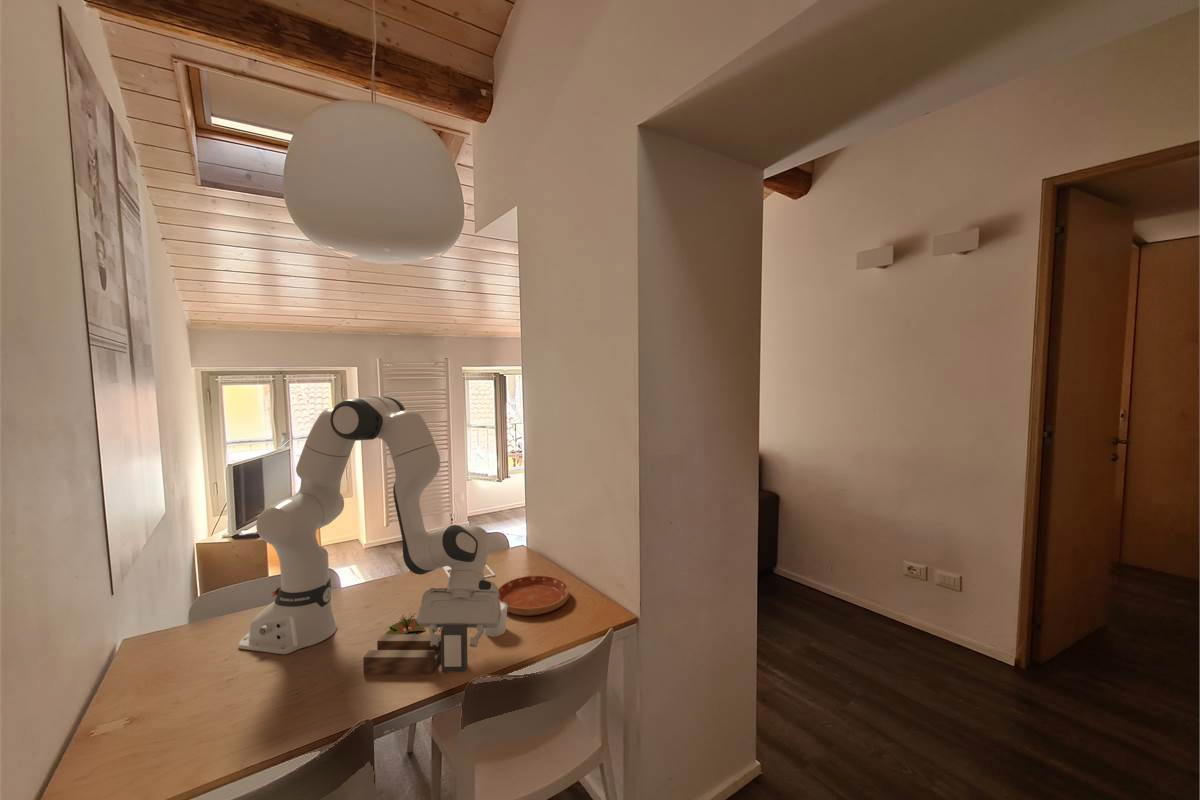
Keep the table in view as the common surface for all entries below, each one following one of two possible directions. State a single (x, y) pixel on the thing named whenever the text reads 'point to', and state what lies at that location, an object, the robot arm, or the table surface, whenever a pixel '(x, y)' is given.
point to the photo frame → (451, 569)
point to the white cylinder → (502, 626)
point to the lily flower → (405, 626)
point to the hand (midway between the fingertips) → (453, 646)
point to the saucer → (533, 595)
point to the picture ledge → (402, 655)
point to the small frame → (454, 648)
